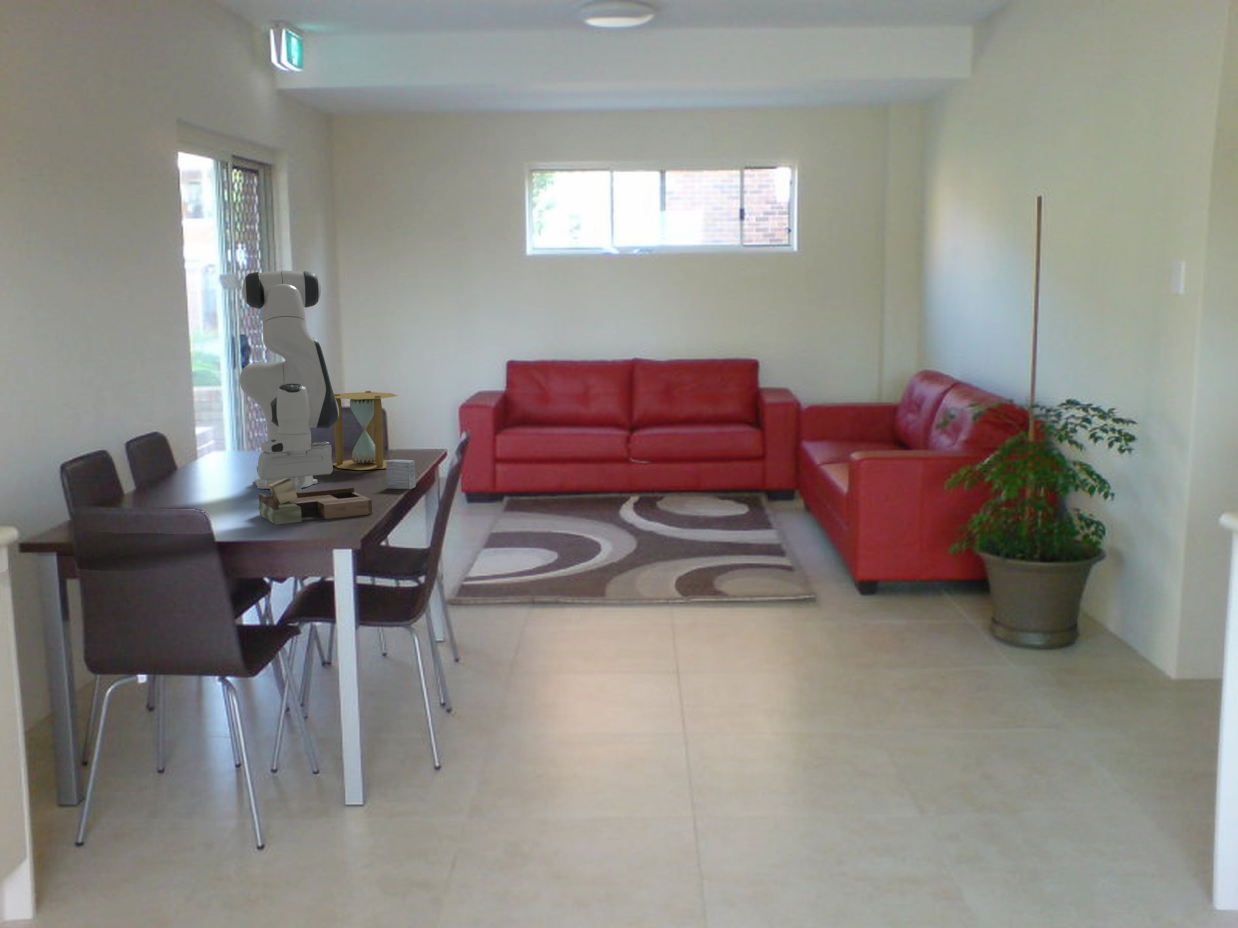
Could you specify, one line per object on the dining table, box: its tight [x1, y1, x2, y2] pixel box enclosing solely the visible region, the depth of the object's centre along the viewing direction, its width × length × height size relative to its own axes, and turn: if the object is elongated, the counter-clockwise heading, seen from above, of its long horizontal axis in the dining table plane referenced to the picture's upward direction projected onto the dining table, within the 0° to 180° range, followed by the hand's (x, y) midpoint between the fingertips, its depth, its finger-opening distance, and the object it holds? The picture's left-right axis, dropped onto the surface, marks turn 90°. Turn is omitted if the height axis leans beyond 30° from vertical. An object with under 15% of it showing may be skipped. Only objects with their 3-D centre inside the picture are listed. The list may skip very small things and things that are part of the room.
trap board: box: [258, 487, 373, 526], centre depth 330 cm, size 15×27×6 cm, turn 122°
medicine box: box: [385, 459, 417, 490], centre depth 369 cm, size 8×4×9 cm, turn 74°
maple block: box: [269, 478, 297, 504], centre depth 326 cm, size 5×5×5 cm
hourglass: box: [332, 390, 399, 471], centre depth 410 cm, size 24×22×25 cm
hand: (297, 493), depth 328 cm, fingers closed
